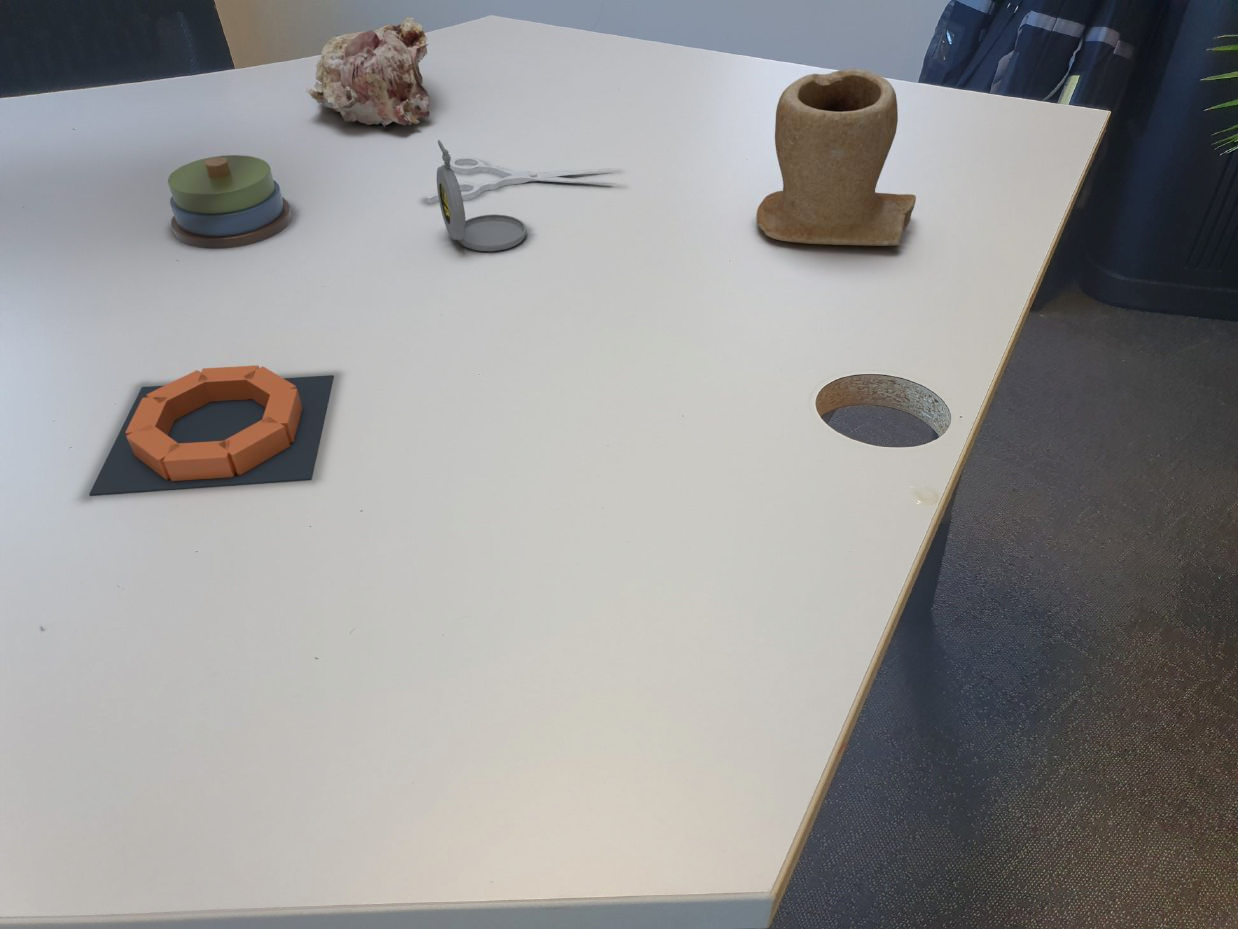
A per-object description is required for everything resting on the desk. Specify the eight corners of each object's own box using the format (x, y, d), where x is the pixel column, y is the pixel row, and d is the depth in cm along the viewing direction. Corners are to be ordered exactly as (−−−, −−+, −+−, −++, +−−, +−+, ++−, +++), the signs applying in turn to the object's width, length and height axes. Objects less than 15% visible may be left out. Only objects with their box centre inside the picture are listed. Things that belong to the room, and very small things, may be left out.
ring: (118, 485, 59) (108, 464, 58) (163, 390, 67) (155, 370, 66) (285, 474, 60) (278, 453, 58) (309, 382, 68) (304, 362, 66)
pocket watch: (540, 235, 87) (534, 131, 81) (483, 269, 82) (472, 162, 75) (476, 214, 91) (465, 113, 84) (417, 246, 85) (401, 141, 79)
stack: (161, 253, 84) (138, 187, 80) (190, 203, 92) (170, 141, 88) (282, 247, 85) (265, 182, 81) (300, 199, 93) (285, 137, 89)
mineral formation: (335, 69, 122) (295, 4, 114) (446, 32, 120) (413, -37, 111) (330, 185, 111) (286, 122, 102) (453, 146, 108) (418, 79, 100)
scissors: (437, 157, 100) (617, 153, 100) (438, 164, 100) (617, 160, 101) (426, 197, 92) (621, 193, 92) (427, 205, 92) (622, 200, 93)
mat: (90, 498, 58) (88, 494, 58) (143, 390, 67) (141, 386, 67) (312, 482, 60) (310, 478, 59) (334, 379, 69) (333, 374, 68)
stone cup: (750, 259, 84) (769, 93, 74) (758, 205, 93) (775, 51, 83) (918, 273, 82) (959, 105, 72) (909, 217, 91) (944, 60, 81)
